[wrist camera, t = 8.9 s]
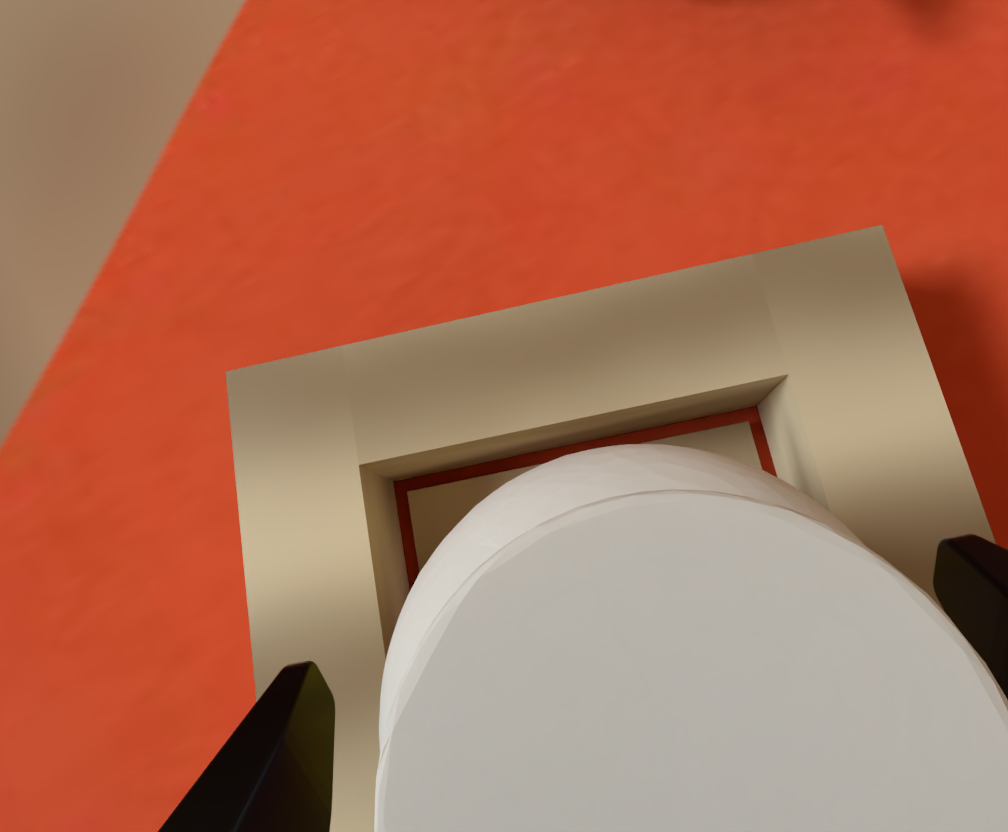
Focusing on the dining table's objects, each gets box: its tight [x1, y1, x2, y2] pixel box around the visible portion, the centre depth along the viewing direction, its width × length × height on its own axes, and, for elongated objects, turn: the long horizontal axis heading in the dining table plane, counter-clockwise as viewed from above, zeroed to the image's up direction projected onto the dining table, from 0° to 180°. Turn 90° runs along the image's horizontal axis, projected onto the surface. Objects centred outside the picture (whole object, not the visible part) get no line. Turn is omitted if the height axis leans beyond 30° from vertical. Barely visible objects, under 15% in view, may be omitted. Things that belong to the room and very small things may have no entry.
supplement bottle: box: [374, 444, 1008, 832], centre depth 11 cm, size 7×7×13 cm
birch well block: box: [226, 225, 996, 832], centre depth 16 cm, size 16×16×3 cm
